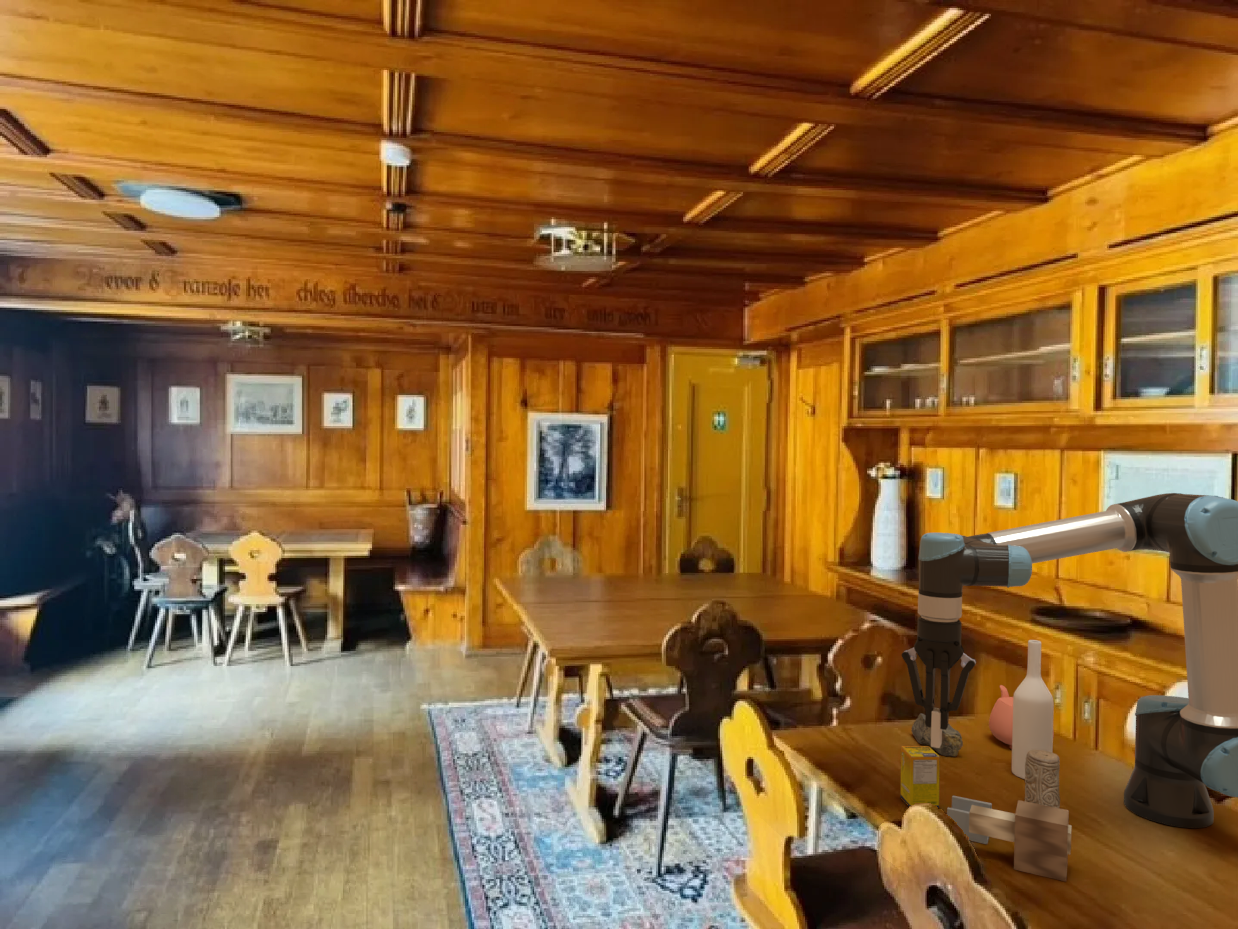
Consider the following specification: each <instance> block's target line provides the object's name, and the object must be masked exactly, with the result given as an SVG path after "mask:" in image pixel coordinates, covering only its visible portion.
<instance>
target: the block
mask: <svg viewBox="0 0 1238 929" xmlns="http://www.w3.org/2000/svg"><path fill="white" fill-rule="evenodd" d="M1069 812H1070V810H1068V809H1064V808H1060V807H1059V808H1055V807H1050V806H1045V805H1040V804H1035V803H1030V802H1025V800H1024V801H1023V800H1019V799H1018V800H1017V804H1016V809H1015V813H1014V814H1015V842H1014V846H1013V847H1014V848H1013V849H1014V850H1013V851H1014V853H1013V870H1016V871H1020V872H1023V873H1028V874H1031V875H1036V876H1041V877H1045V878H1049V879H1052V880H1053V879H1054V880H1058V881H1061V882H1067V878H1068V877H1067V875H1068V855H1069V854H1067V839H1068V825H1069V820H1070V819H1069V815H1070V814H1069Z"/></svg>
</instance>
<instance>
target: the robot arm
mask: <svg viewBox="0 0 1238 929" xmlns="http://www.w3.org/2000/svg"><path fill="white" fill-rule="evenodd" d="M1114 549H1117V550H1118V551H1120V552H1123V553H1125V552H1131V551H1132V552H1133V551H1138V550H1139V551H1142V550H1147V551H1159V552H1165V553H1168V554H1169V567H1170V570H1171V571H1172V572H1173V573H1174V574H1176V575H1177V576H1178V577H1179V579H1180V586H1181V598H1182V599H1181V600H1182V601H1181V602H1182V614H1183V615H1182V617H1183V631H1184V632H1183V634H1184V647H1185V648H1184V649H1185V664H1186V666H1185V667H1186V679H1187V680H1186V682H1187V696H1188V697H1182V696H1173V695H1159V694H1157V695H1155V694H1154V695H1152V694H1151V695H1144V696H1140V697H1139V698H1138V699H1137V702H1136V706H1135V712H1134V716H1135V736H1134V737H1135V742H1134V767H1133V770H1132V773H1131V774H1130V778H1128V781H1127V784H1126V786H1125V789H1124V792H1123V805H1124V806H1125V808H1126V809H1128V810H1129V811H1130V812H1132V813H1133V814H1135V815H1136V816H1140V817H1141V818H1144V819H1146V820H1149V821H1152V822H1154V823H1158V824H1161V825H1162V824H1163V825H1166V826H1171V827H1179V828H1184V829H1185V828H1186V829H1202V828H1207V827H1209V826H1211V825H1213V824H1214V818H1215V817H1214V807H1213V803H1212V801H1211V798H1210V796H1209V792H1208V789H1210V790H1212V791H1216V792H1218V793H1220V794H1223V795H1225V796H1229V797H1231V798H1238V500H1234V499H1232V498H1227V497H1223V496H1218V495H1207V494H1206V495H1205V494H1193V493H1192V494H1187V493H1177V492H1171V493H1161V494H1155V495H1151V496H1146V497H1142V498H1141V497H1140V498H1137V499H1133V500H1132V499H1131V500H1129V501H1123V502H1119V503H1113V504H1110V505H1109V506H1107V508H1106V510H1105V511H1098V512H1093V513H1088V514H1083V515H1077V516H1072V517H1067V518H1063V519H1062V518H1061V519H1056V520H1050V521H1045V522H1039V523H1034V524H1029V525H1028V524H1027V525H1025V526H1024V525H1023V526H1018V527H1013V528H1007V529H1002V530H996V531H991V532H987V533H978V534H974V535H969V536H968V535H967V536H966V535H963V534H962V535H961V534H958V533H949V532H927V533H924V534H923V535H922V536H921V538H920V542H919V552H918V593H917V596H918V597H917V614H918V615H919V617H918V618H917V630H916V632H917V636H916V641H915V643H914V645H913V647H912V648H910V649H905V650H904V651H903V652H902V653H901V657H902V659H903V661H904V663H905V664H906V667H907V670H908V675H909V681H910V685H911V690H912V693H913V699H914V703H915V704H916V705H917V706H920V707H923V709H924V710H925V714H924V715H925V724H926V727H931V747H930V748H932V747H935V748H940V746H941V744H942V729H944V730H946V729H947V727H948V723H949V719H950V718H949V717H950V716H949V714H950V713H949V712H952V711H953V712H955V711H958V710H959V708H960V705H961V702H962V699H963V695H964V693H965V692H964V691H965V688H966V686H967V682H968V678H969V675H970V672H971V671H972V670H973V669H974V667H975V666H976V663H977V660H976V658H975V657H970V656H968V655H967V654H966V653H964V652H965V649H964V648H963V645H962V621H961V620H960V618H962V616H963V613H962V612H963V589H964V588H963V587H964V586H965V587H1004V588H1011V587H1012V588H1013V587H1023V586H1026V585H1027V584H1028V583H1029V582H1030V579H1032V578H1031V577H1032V574H1033V564H1037V563H1042V562H1047V561H1048V562H1049V561H1053V560H1054V561H1055V560H1059V559H1065V558H1069V557H1077V556H1081V555H1086V554H1091V553H1093V554H1094V553H1097V552H1104V551H1107V550H1114ZM917 655H918V657H919V658H920V660H921V661H922V662H923V664H924V665H925V694H924V692H923V687H922V682H921V678H920V674H919V673H920V672H919V669H918V665H917V661H916V660H917V658H918V657H917ZM959 660H961V662H960V666H961V668H962V670H961V671H960V675H959V677H958V680H957V684H956V687H955V691H954V695H953V699H952V701H951V702H950V695H951V694H950V692H951V685H950V684H951V681H950V680H951V669H952V668H953V667H954V666H955V664H956V663H958V661H959ZM936 669H939V670H940V700H939V702H940V707H935V698H936V697H935V691H936ZM924 695H925V696H924ZM1207 788H1208V789H1207Z"/></svg>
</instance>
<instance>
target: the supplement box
mask: <svg viewBox="0 0 1238 929" xmlns="http://www.w3.org/2000/svg"><path fill="white" fill-rule="evenodd" d="M900 748H901V749H900V799H901V798H902V799H903V800H904V801H905V802H906V803H907V804H908V806H911V805H914V804H915V803H931V804H933V805H935V806H937V807H938V808H939V809H940V767H941V766H940V762H941V761H940V758H941V756H940V754H939V753H938V752H937V751H936V752H935V750H934V749H933V748H932V747H929V746H926V745H920V746H919V745H917V746H915V745H907V746H905V745H904V746H903V745H901V746H900ZM902 799H901V800H902ZM903 800H902V801H903ZM904 801H903V802H904ZM905 802H904V803H905ZM906 803H905V804H906ZM908 806H907V807H908Z"/></svg>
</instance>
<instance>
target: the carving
mask: <svg viewBox="0 0 1238 929" xmlns="http://www.w3.org/2000/svg"><path fill="white" fill-rule="evenodd" d="M1026 756H1027V757H1026V762H1025V779H1024V783H1025V784H1024V801H1025V802H1030V803H1035V804H1040V805H1045V806H1050V807H1055V808H1060V807H1061V798H1060V768H1061V767H1060V763H1061V762H1060V756H1059V755H1058V754H1057V753H1054V752H1053V751H1052V752H1048V751H1044V750H1030V751H1028V753H1027V755H1026Z"/></svg>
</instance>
